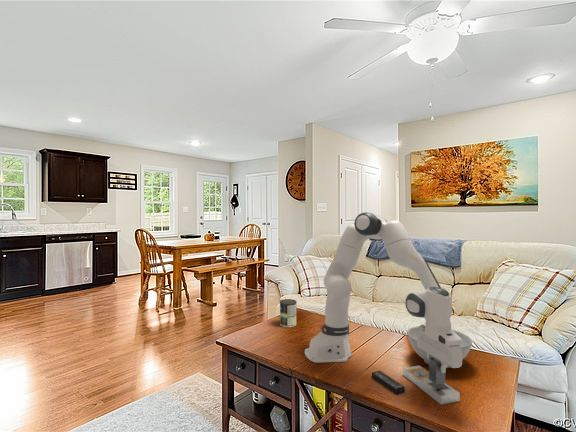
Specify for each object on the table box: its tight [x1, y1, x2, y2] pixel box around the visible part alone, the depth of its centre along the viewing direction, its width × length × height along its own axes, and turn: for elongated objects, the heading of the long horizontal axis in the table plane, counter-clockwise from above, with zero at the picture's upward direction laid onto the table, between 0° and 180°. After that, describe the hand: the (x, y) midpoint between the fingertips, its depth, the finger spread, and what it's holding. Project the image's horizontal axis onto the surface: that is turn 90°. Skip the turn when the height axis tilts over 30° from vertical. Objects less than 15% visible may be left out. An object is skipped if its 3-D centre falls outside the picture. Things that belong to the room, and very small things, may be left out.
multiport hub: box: [371, 370, 406, 396], centre depth 129 cm, size 4×14×2 cm, turn 24°
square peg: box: [428, 357, 446, 384], centre depth 122 cm, size 4×4×8 cm
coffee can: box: [279, 298, 298, 328], centre depth 199 cm, size 10×10×14 cm
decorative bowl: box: [406, 325, 473, 369], centre depth 149 cm, size 27×27×12 cm
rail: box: [402, 365, 461, 406], centre depth 127 cm, size 8×22×3 cm, turn 16°
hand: (437, 368), depth 122 cm, fingers closed on square peg, 4 cm apart
